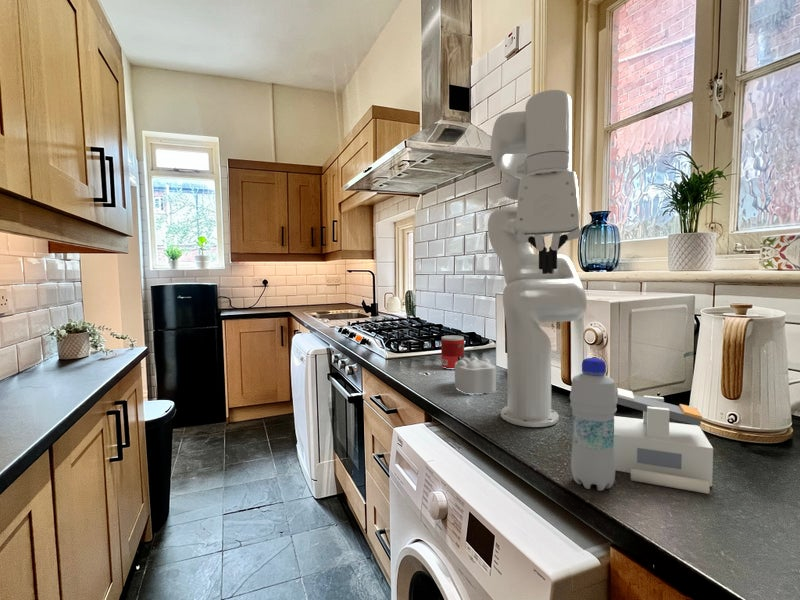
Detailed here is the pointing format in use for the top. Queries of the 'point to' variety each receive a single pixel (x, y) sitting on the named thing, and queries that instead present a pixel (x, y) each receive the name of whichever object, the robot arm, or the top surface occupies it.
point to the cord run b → (670, 481)
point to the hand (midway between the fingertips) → (548, 273)
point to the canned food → (452, 350)
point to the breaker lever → (676, 412)
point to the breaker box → (662, 445)
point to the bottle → (593, 425)
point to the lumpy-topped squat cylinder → (475, 375)
